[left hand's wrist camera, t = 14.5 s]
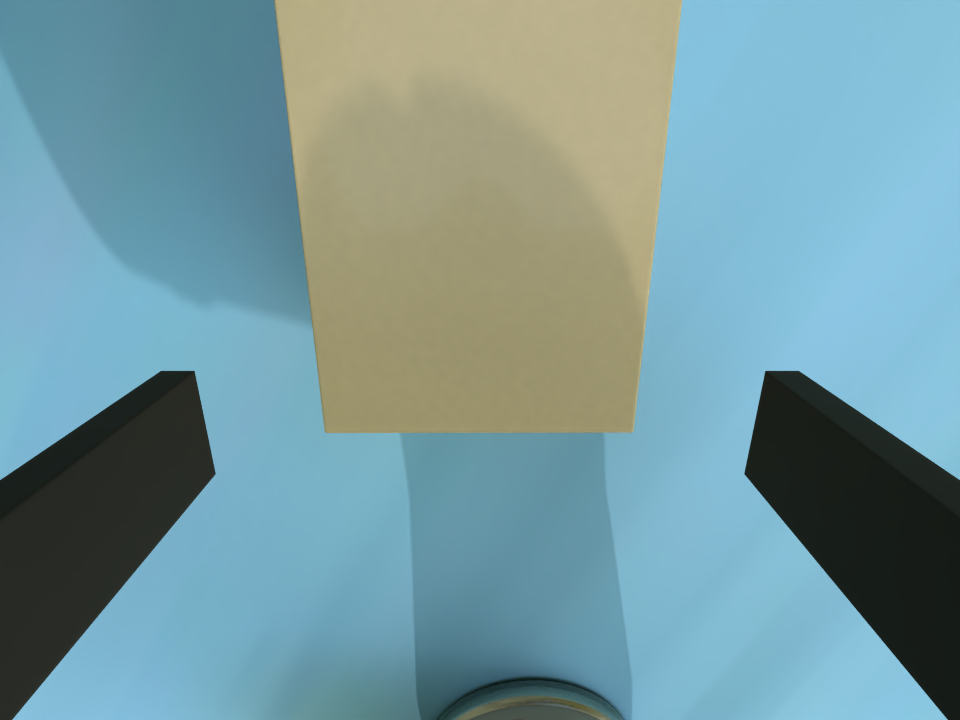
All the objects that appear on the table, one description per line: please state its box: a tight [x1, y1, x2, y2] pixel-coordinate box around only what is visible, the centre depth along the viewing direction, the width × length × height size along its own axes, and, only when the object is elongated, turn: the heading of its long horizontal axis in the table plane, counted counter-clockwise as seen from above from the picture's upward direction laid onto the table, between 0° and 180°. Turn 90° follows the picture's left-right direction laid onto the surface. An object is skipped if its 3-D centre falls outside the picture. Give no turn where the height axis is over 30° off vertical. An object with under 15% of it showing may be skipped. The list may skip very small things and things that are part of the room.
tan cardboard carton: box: [274, 0, 682, 433], centre depth 20 cm, size 20×11×10 cm, turn 0°
